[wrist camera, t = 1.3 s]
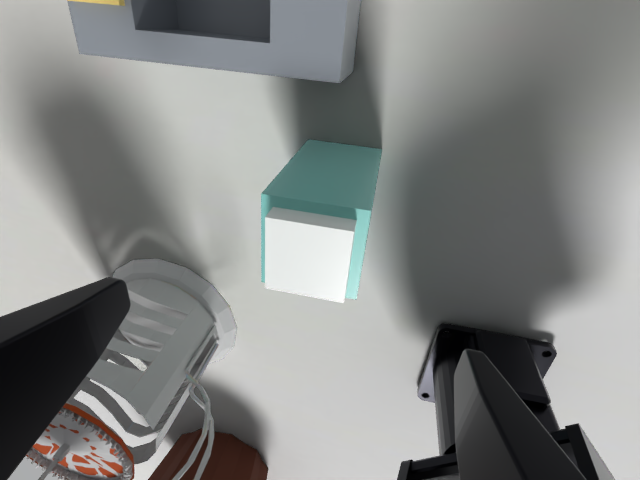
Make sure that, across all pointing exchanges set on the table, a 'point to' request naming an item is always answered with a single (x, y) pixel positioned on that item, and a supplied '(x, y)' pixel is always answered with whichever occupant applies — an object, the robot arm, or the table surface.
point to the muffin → (212, 459)
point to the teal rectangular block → (319, 220)
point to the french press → (143, 375)
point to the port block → (225, 34)
